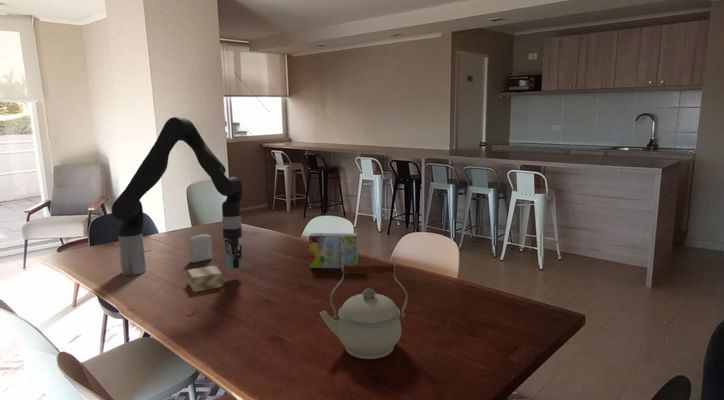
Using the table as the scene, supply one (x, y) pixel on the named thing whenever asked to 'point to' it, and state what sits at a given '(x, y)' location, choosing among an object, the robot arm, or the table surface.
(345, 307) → the kettle
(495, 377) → the table surface
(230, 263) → the teal block
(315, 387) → the table surface
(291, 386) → the table surface
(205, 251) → the photo printer
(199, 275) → the birch block
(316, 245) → the snack box
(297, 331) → the table surface
